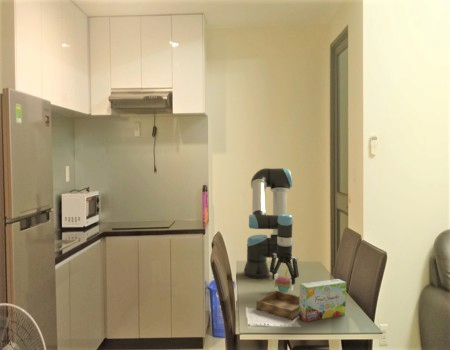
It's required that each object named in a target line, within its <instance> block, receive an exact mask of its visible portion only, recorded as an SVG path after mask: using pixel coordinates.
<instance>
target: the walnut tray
mask: <svg viewBox="0 0 450 350" xmlns="http://www.w3.org/2000/svg"><path fill="white" fill-rule="evenodd" d="M299 299H300V295H296V294H292V293H288V292H285V293H284V292H280V291H279V290H275V291H273V292H271V293H269V294H267V295H266V296H264V297H262V298H259V299H258V300H257V301H256V311H260V312H264V313H267V314H271V315H273V316H277V317H280V318H284V319H286V318H287V320H290V319H291V321H294V320H295V319H296V318H299Z"/></svg>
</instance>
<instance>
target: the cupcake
mask: <svg viewBox="0 0 450 350" xmlns="http://www.w3.org/2000/svg"><path fill="white" fill-rule="evenodd" d="M287 274H288V269H286V270H285V275H284V276H280V277H279V276H278V278H277V279H276V281H275V284H276V285H277V289H278V291H280V292H284V293H288V292H289V291H290V278H289V277H287Z"/></svg>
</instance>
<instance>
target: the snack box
mask: <svg viewBox="0 0 450 350" xmlns="http://www.w3.org/2000/svg"><path fill="white" fill-rule="evenodd" d="M299 296H300V299H299V316H298V318H299V319H301V320H302V321H303V322H305V323H307V322H312V321H316V320H317V321H318V320H323V319H329V318H330V319H331V318H335V317H340V316H345V315H346V304H347V303H346V301H347V298H346V297H347V281H344V280H342V279H340V278H335V279H334V278H333V279H328V280H320V281H311V282H306V283H305V282H304V283H300V284H299Z"/></svg>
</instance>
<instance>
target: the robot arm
mask: <svg viewBox="0 0 450 350" xmlns="http://www.w3.org/2000/svg"><path fill="white" fill-rule="evenodd" d="M292 187H293V178H292V172H291V170H290V169H288V168H282V167H281V168H268V167H267V168H266V167H264V168H262V169H259V170H258V171H257V172H256V173H255V174H254V175H253V176H252V178H251V181H250V188H251V190H252V214H249V216H248V228H249V229H254V230H272V232H271V234H270V236H269V237H268V235H267V234H255V235H250V236H249V237H248V238H247V243H246V247H247V248H246V263H245V265H244V269H243V275H244V276H245V277H247V278H251V279H263V278H267V277H270V273H271V274H272V280H273V287H274V288H278V286H277V285H276V284H275V281H276V279H277V278H279V273H278V271H279V268H280V267H281V264H282V263H283V264H285V265H286V267H287V271H288V272H289V274H290V278H289V279H290V288H289V291H290V292H292V291H294V288H295V287H294V285H295V284H296V279H297V278H299V277H300V274H299V268H298V267H299V266H298V257H297V256H296V257H295V256H293V254H292V252H293V245H294V244H293V243H294V239H293V223H294V222H293V221H294V220H293V215H292V214H289V213H288V193H289V192H290V190H291V188H292ZM267 188H270V191H271V192H272V212H273V213H272V214H267V202H266V198H267V197H266V189H267ZM267 258H268V259H269V258H270V260H271V261H270V266H268V262H267Z"/></svg>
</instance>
